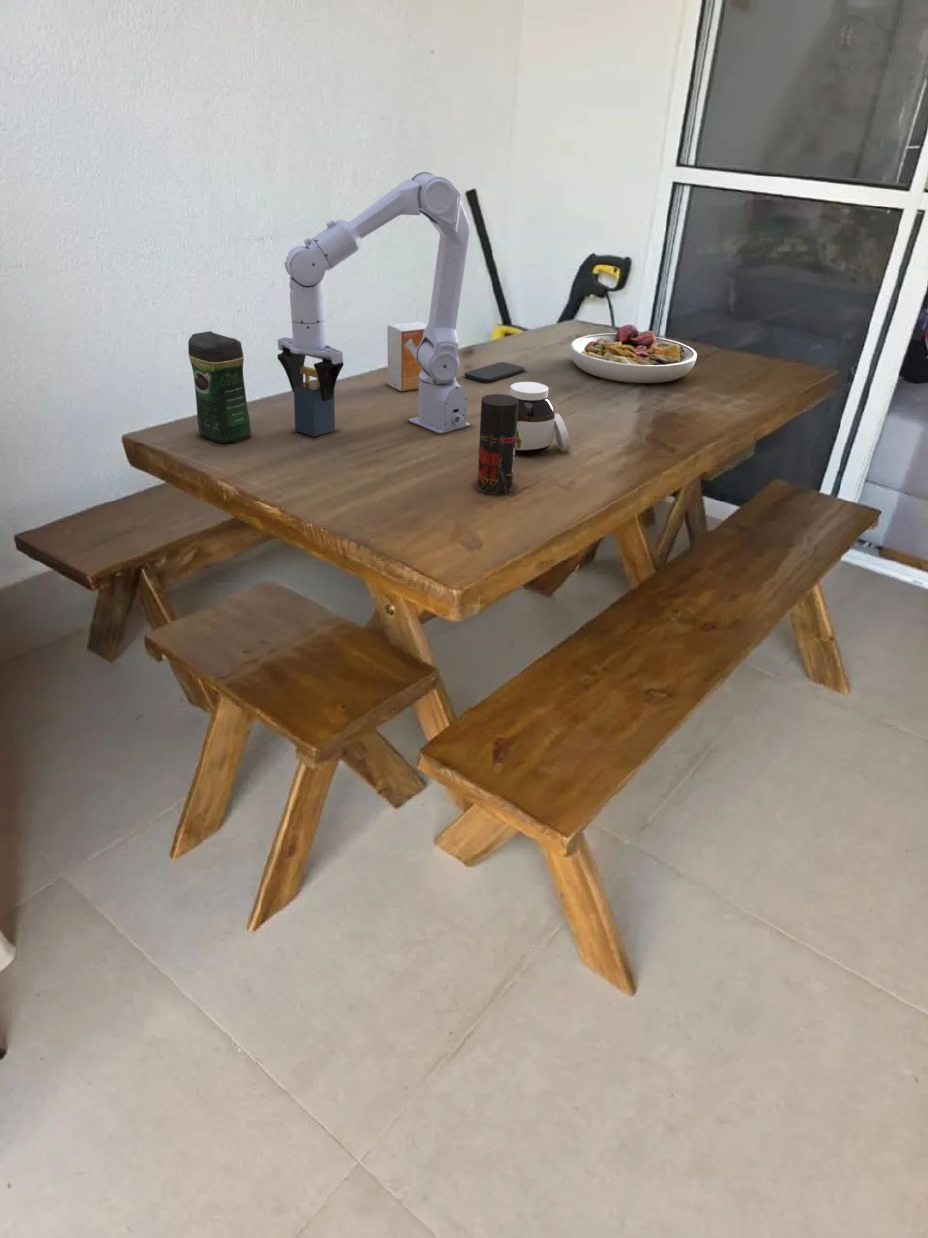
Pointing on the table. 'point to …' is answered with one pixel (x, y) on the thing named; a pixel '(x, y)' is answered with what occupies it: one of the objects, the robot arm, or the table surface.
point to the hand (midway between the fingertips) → (312, 395)
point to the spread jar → (537, 420)
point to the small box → (404, 355)
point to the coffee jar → (219, 387)
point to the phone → (494, 372)
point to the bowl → (632, 356)
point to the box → (312, 406)
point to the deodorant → (497, 443)
